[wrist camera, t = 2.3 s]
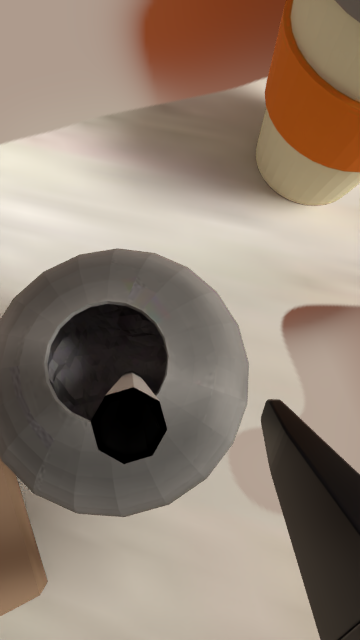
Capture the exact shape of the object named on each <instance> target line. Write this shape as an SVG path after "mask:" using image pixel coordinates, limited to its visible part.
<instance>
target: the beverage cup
mask: <svg viewBox="0 0 360 640" xmlns="http://www.w3.org/2000/svg"><path fill="white" fill-rule="evenodd" d="M248 370H249V362H248V358H247V355H246V351H245V348H244V344H243V340H242V337H241V333H240V329H239V326H238V324H237V322H236V321H235V319H234V318H233V316H232V315H231V313H230V312H229V310H228V308H227V307H226V305H225V304H224V302H223V301H222V299H221V297H220V296H219V294H218V293H217V292H216V291H215V290H214V289H213V288H212V287H210V286H209V285H208V284H207V283H206V282H205V281H203V280H202V279H201V278H200V277H199V276H198V275H196V274H195V273H194V272H193V271H192V270H190V269H189V268H188V267H185V266H183V265H181V264H178V263H176V262H174V261H172V260H169V259H167V258H165V257H162V256H160V255H158V254H156V253H149V252H141V251H133V250H125V249H112V250H106V251H100V252H93V253H87V254H81V255H78V256H76V257H74V258H72V259H70V260H68V261H65V262H63V263H61V264H59V265H57V266H55V267H53V268H51V269H49V270H46V271H44V272H43V273H42V274H41V275H39V276H38V277H37V278H36V279H35V280H34V281H33V282H32V283H30V284H29V285H28V286H27V287H26V288H25V289H24V290H23V291H21V292H20V293H19V294H18V295H17V296H16V297H15V298H13V300H12V302H11V303H10V305H9V307H8V308H7V310H6V311H5V313H4V315H3V316H2V318H1V319H0V458H1V460H2V462H3V463H4V464H5V465H6V466H7V467H8V468H9V469H10V470H11V471H12V472H13V473H14V474H15V475H16V476H17V477H18V478H19V479H20V480H21V481H22V482H23V483H24V484H25V485H26V486H27V487H28V488H29V489H30V490H31V491H32V492H33V493H34V494H36V495H38V496H40V497H43V498H45V499H47V500H49V501H51V502H53V503H56V504H58V505H60V506H62V507H64V508H67V509H69V510H71V511H73V512H75V513H78V514H91V515H105V516H119V517H126V516H130V515H133V514H137V513H140V512H144V511H147V510H151V509H155V508H158V507H162V506H165V505H169V504H170V503H172V502H173V501H175V500H176V499H178V498H179V497H181V496H182V495H183V494H185V493H186V492H188V491H189V490H191V489H192V488H194V487H195V486H196V485H198V484H199V483H201V482H202V481H204V480H205V479H207V477H208V476H209V475H210V473H211V472H212V471H213V469H214V468H215V467H216V465H217V464H218V463H219V461H220V460H221V459H222V457H223V456H224V455H225V454H226V452H227V451H228V450H229V448H230V447H231V446H232V444H233V442H234V440H235V437H236V434H237V431H238V428H239V426H240V423H241V420H242V417H243V414H244V411H245V409H246V406H247V398H248Z"/></svg>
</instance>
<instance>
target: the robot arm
mask: <svg viewBox="0 0 360 640" xmlns="http://www.w3.org/2000/svg"><path fill="white" fill-rule="evenodd" d="M261 425H262V430H263V436H264V441H265V446H266V451H267V457H268V463H269V467H270V471H271V475H272V479H273V482H274V485H275V489H276V492H277V495H278V499H279V502H280V506H281V509H282V512H283V516H284V519H285V522H286V526H287V529H288V532H289V536H290V539H291V542H292V546H293V549H294V552H295V556H296V559H297V562H298V566H299V569H300V573H301V576H302V579H303V583H304V586H305V589H306V593H307V596H308V599H309V603H310V606H311V609H312V613H313V616H314V619H315V623H316V626H317V629H318V633H319V636H320V639H321V640H360V474H359V473H357V472H356V471H355V470H354V469H353V468H352V467H351V466H350V465H349V464H348V463H347V462H346V461H345V460H344V459H343V458H342V457H340V456H339V455H338V454H337V453H336V452H335V451H334V450H333V449H332V448H331V447H330V446H329V445H328V444H327V443H326V442H325V441H323V440H322V439H321V438H320V437H319V436H318V435H317V434H316V433H315V432H314V431H313V430H312V429H311V428H310V427H309V426H308V425H307V424H305V423H304V422H303V421H302V420H301V419H300V418H299V417H298V416H297V415H296V414H295V413H294V412H293V411H292V410H291V409H290V408H289V407H287V406H286V405H285V404H284V403H283V402H282V401H281V400H278V399H269V400H267V401H266V403H265V407H264V410H263V413H262V416H261Z"/></svg>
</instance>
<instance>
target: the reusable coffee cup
mask: <svg viewBox="0 0 360 640" xmlns="http://www.w3.org/2000/svg"><path fill="white" fill-rule="evenodd" d="M265 100H266V111H265V115H264V119H263V123H262V127H261V130H260V134H259V138H258V142H257V147H256V162H257V165H258V169H259V171H260V173H261V175H262V177H263V179H264V180H265V181H266V182H267V184H268V185H269V186H270V187H271V188H272V189H273V190H274V191H276V192H277V193H278V194H280V195H281V196H283V197H284V198H286V199H288V200H291V201H293V202H296V203H299V204H304V205H313V206H318V205H326V204H329V203H332V202H335V201H337V200H338V199H340V198H341V197H343V196H344V195H346V194H347V193H348V192H349V191H351V190H352V189H353V188H354V187H356V186H357V185H358V184H359V183H360V0H286V2H285V6H284V10H283V15H282V19H281V23H280V28H279V32H278V36H277V40H276V44H275V49H274V53H273V57H272V62H271V66H270V70H269V74H268V79H267V84H266V89H265Z"/></svg>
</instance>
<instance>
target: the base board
mask: <svg viewBox="0 0 360 640" xmlns="http://www.w3.org/2000/svg"><path fill="white" fill-rule="evenodd" d="M47 582H48V581H47V578H46V574H45V571H44V568H43V564H42V561H41V558H40V554H39V551H38V548H37V544H36V541H35V538H34V534H33V531H32V528H31V524H30V521H29V518H28V514H27V511H26V508H25V504H24V501H23V498H22V494H21V491H20V488H19V484H18V481H17V478H16V475H15V474H14V473H13V472H12V471H11V470H10V469H9V468H8V467H7V466H6V465H5V464H4V463H3V462H2V460H1V458H0V616H2V615H4V614H5V613H7V612H9V611H11V610H13V609H15V608H17V607H19V606H20V605H22V604H24V603H26V602H28V601H30V600H32V599H34V598H35V597H37V596H39V595H40V594H41V592H42V591H43V589H44V587H45V585H46V584H47Z"/></svg>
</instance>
